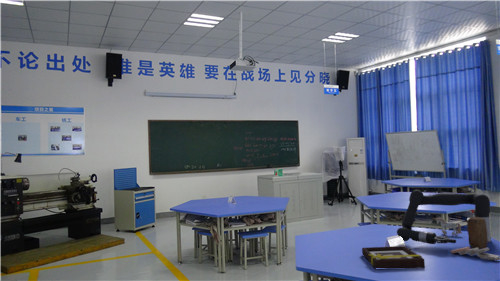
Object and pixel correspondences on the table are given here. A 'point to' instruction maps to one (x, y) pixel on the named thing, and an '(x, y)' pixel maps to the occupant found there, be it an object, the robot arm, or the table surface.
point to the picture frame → (393, 257)
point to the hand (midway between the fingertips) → (455, 241)
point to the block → (477, 232)
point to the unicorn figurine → (448, 226)
